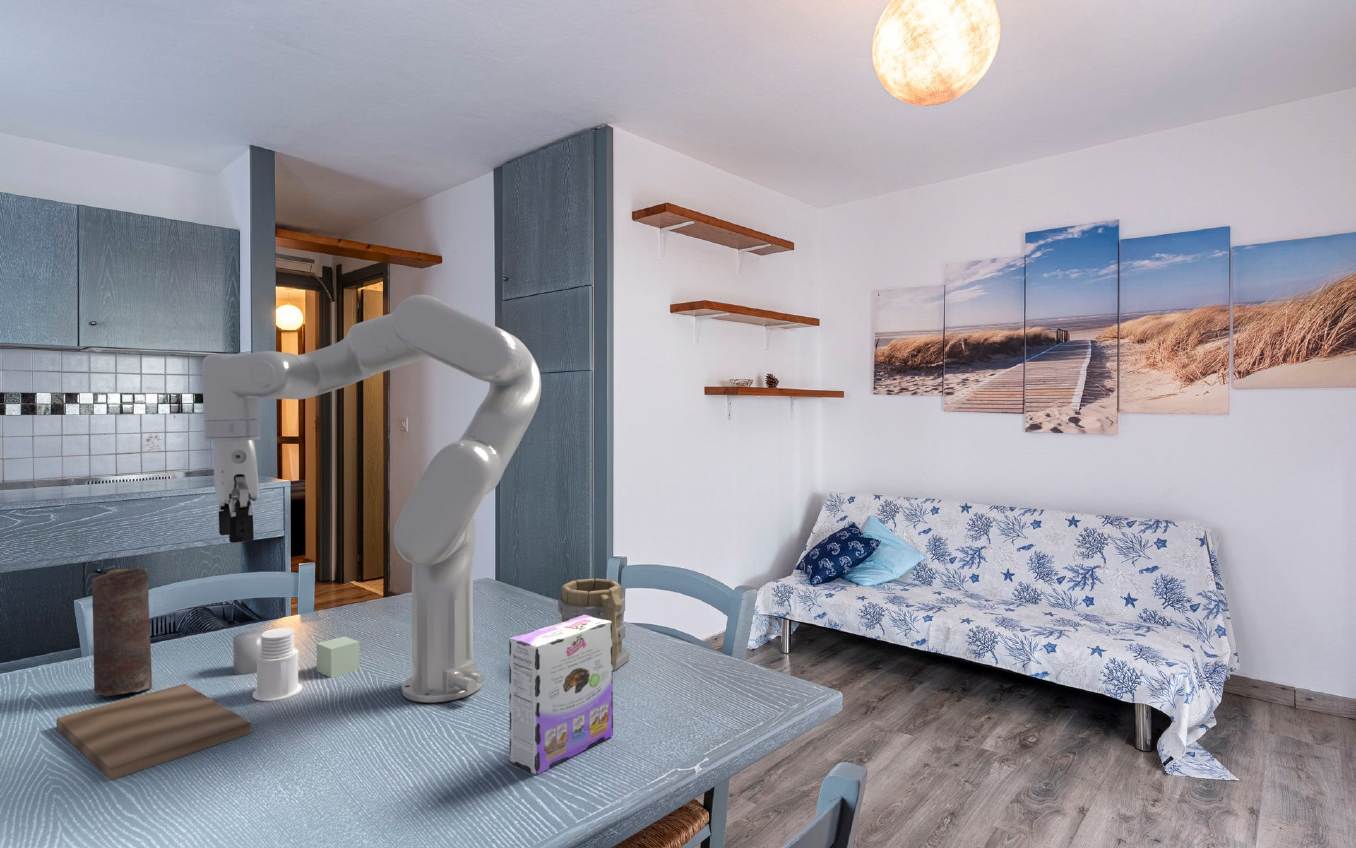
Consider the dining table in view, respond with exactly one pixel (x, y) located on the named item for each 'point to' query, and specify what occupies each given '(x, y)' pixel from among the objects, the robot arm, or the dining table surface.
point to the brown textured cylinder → (121, 632)
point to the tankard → (597, 609)
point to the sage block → (337, 656)
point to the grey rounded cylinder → (246, 652)
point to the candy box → (560, 691)
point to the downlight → (277, 666)
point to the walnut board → (150, 729)
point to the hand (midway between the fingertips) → (236, 537)
